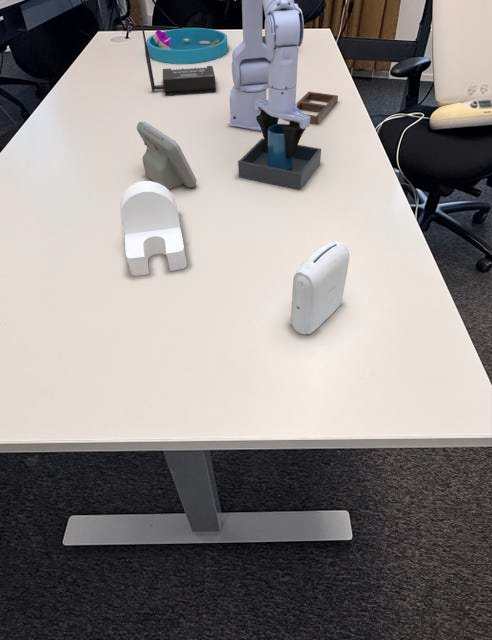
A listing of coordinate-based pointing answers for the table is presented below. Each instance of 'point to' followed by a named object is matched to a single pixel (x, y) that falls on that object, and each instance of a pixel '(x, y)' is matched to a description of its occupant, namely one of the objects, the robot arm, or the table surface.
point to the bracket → (151, 227)
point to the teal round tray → (187, 45)
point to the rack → (317, 105)
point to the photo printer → (319, 286)
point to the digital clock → (164, 159)
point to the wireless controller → (183, 79)
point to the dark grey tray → (258, 169)
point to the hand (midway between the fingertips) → (280, 152)
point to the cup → (278, 148)
